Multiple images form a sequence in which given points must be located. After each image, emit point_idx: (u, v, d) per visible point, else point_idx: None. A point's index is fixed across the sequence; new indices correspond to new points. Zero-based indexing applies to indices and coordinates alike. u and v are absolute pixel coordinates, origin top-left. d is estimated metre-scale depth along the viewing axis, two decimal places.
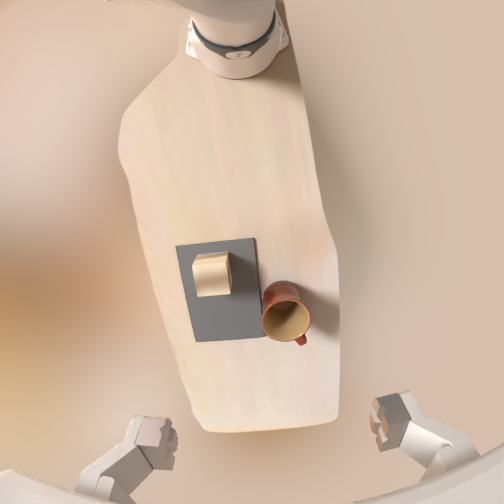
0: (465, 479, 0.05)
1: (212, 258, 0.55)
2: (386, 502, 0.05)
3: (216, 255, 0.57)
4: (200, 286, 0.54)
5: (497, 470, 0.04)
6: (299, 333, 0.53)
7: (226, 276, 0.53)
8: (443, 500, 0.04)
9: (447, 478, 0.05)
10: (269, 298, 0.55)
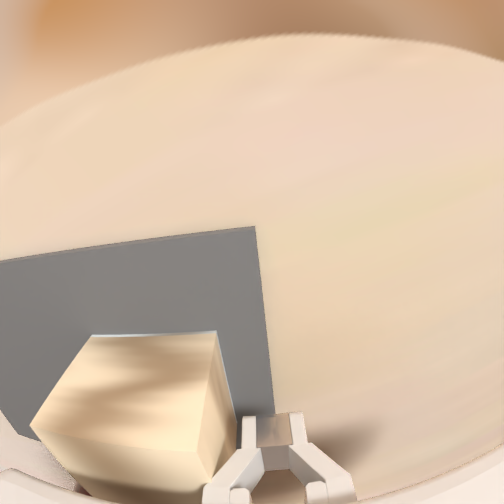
0: (465, 479, 0.05)
1: (224, 439, 0.10)
2: (386, 503, 0.05)
3: (229, 426, 0.12)
4: (84, 452, 0.07)
5: (497, 470, 0.04)
6: None
7: None
8: (443, 500, 0.04)
9: (447, 478, 0.05)
10: None
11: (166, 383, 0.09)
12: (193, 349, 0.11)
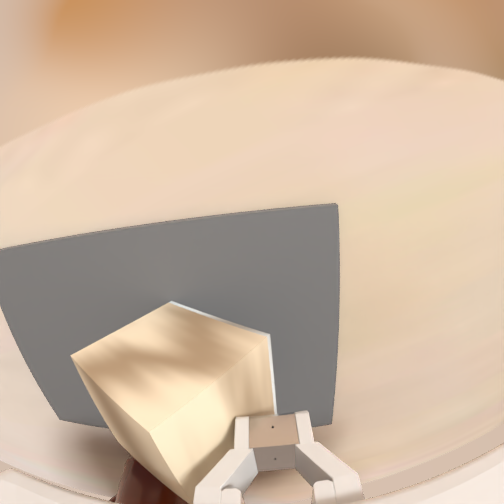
0: (465, 479, 0.05)
1: (230, 439, 0.10)
2: (386, 503, 0.05)
3: None
4: (96, 392, 0.10)
5: (497, 469, 0.04)
6: None
7: (156, 477, 0.10)
8: (443, 500, 0.04)
9: (447, 478, 0.05)
10: None
11: (185, 366, 0.10)
12: (233, 345, 0.11)
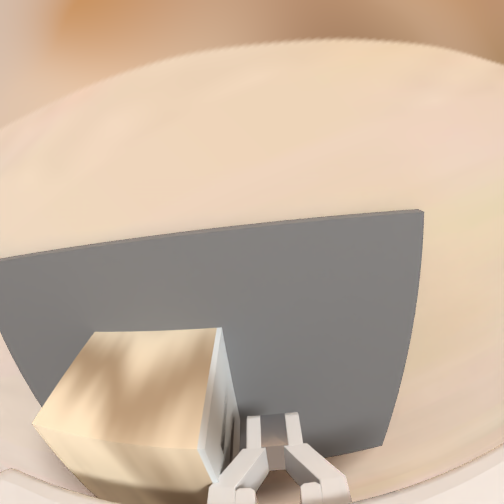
0: (465, 479, 0.05)
1: (139, 491, 0.08)
2: (386, 503, 0.05)
3: (177, 502, 0.08)
4: None
5: (497, 470, 0.04)
6: None
7: None
8: (443, 500, 0.04)
9: (447, 478, 0.05)
10: None
11: (112, 406, 0.08)
12: (163, 426, 0.07)
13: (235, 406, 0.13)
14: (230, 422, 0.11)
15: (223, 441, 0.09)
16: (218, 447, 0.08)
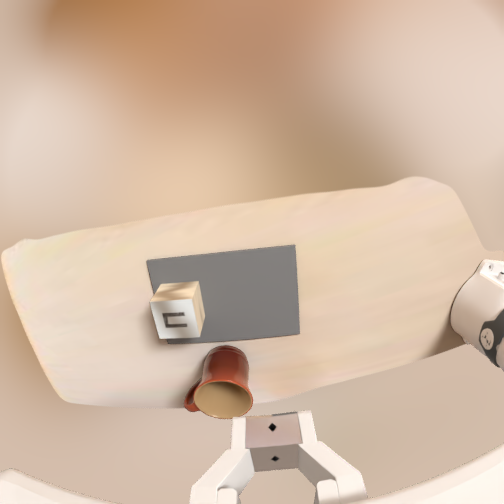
0: (465, 479, 0.05)
1: None
2: (386, 502, 0.05)
3: None
4: None
5: (497, 470, 0.04)
6: (205, 410, 0.42)
7: None
8: (443, 500, 0.04)
9: (447, 478, 0.05)
10: (239, 370, 0.44)
11: (164, 291, 0.43)
12: (157, 297, 0.41)
13: (194, 327, 0.41)
14: (179, 321, 0.41)
15: (165, 315, 0.40)
16: (159, 311, 0.40)
